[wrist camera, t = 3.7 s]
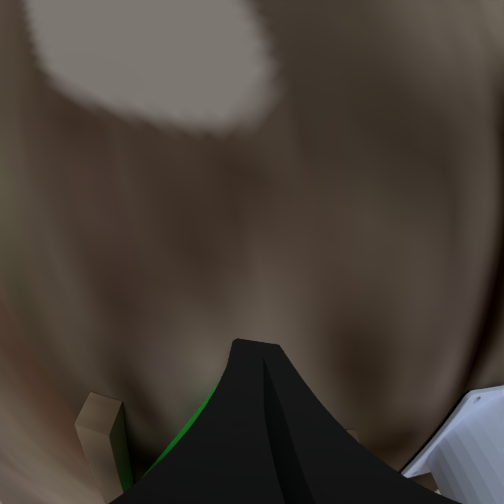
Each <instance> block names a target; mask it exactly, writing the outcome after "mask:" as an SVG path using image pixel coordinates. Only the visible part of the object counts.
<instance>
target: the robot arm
mask: <svg viewBox="0 0 504 504" xmlns="http://www.w3.org/2000/svg"><path fill="white" fill-rule="evenodd" d="M429 472H431V473H432V476H433V478H434V480H435V482H436V484H437V486H438V488H439V491H440V493H441V495H440V494H437V493H435V492H433V491H431V490H429V489H427V488H425V487H423V486H421V485H419V484H417V483H416V482H414V481H412V480H410V479H408V478H409V477H413V476H417V475H421V474H425V473H429ZM109 504H504V385H503V386H497V387H491V388H485V389H478V390H472V391H470V392H468V393H467V394H466V395H465V396H464V398H463V399H462V400H461V402H460V403H459V405H458V406H457V407H456V409H455V410H454V412H453V413H452V414H451V416H450V417H449V418H448V419H447V421H446V422H445V423H444V425H443V426H442V427H441V428H440V430H439V431H438V432H437V433H436V435H435V436H434V437H433V438H432V439H431V440H430V442H429V443H428V444H427V445H426V446H425V447H424V449H423V450H422V451H421V452H420V453H419V454H418V455H417V456H416V457H415V459H414V460H413V461H412V462H411V463H410V464H409V465H408V466H407V467H406V468H405V469H404V470H403V471H402V472H401V474H400V473H399V472H397V471H396V470H394V469H393V468H391V467H390V466H388V465H387V464H386V463H384V462H383V461H382V460H380V459H379V458H377V457H376V456H375V455H373V454H372V453H371V452H370V451H368V450H367V449H366V448H365V447H364V446H362V445H361V444H360V443H359V442H358V441H357V440H356V439H355V438H354V437H353V436H352V435H350V434H349V433H348V432H347V431H346V430H345V429H344V428H343V427H342V426H341V425H340V424H339V423H338V422H337V421H336V420H335V419H334V417H333V416H332V415H331V414H330V413H329V412H328V411H327V409H326V408H325V407H324V406H323V405H322V404H321V403H320V401H319V400H318V399H317V398H316V396H315V395H314V394H313V392H312V391H311V390H310V388H309V387H308V386H307V385H306V383H305V382H304V380H303V379H302V378H301V376H300V375H299V373H298V372H297V370H296V369H295V368H294V366H293V365H292V363H291V362H290V360H289V359H288V357H287V356H286V354H285V353H284V351H283V350H282V348H281V347H280V345H277V344H270V343H264V342H257V341H251V340H244V339H238V338H237V339H235V340H234V341H233V342H232V346H231V351H230V355H229V359H228V363H227V367H226V369H225V371H224V373H223V376H222V378H221V380H220V382H219V384H218V386H217V387H216V389H215V391H214V392H213V394H212V396H211V397H210V399H209V401H208V402H207V404H206V406H205V407H204V409H203V410H202V411H201V413H200V414H199V416H198V417H197V419H196V420H195V421H194V423H193V424H192V425H191V426H190V428H189V429H188V430H187V432H186V433H185V434H184V435H183V436H182V437H181V439H180V440H179V441H178V442H177V443H176V444H175V446H174V447H173V448H172V449H171V450H170V451H169V452H168V453H167V454H166V455H165V456H164V457H163V458H162V459H161V460H160V461H159V462H158V463H157V464H156V465H155V466H154V467H153V468H152V469H151V470H150V471H149V472H147V473H146V474H145V475H144V476H143V477H142V478H141V479H140V480H139V481H137V482H136V483H135V484H134V485H133V486H132V487H130V488H129V489H128V490H127V491H125V492H124V493H123V494H121V495H120V496H119V497H117V498H116V499H114V500H113V501H112V502H110V503H109Z"/></svg>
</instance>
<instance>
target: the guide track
mask: <svg viewBox="0 0 504 504" xmlns="http://www.w3.org/2000/svg"><path fill="white" fill-rule="evenodd" d="M75 427H76V430H77V434H78V437H79V440H80V442H81V445H82V448H83V451H84V454H85V456H86V459H87V462H88V464H89V467H90V469H91V472H92V474H93V477H94V479H95V481H96V484H97V486H98V488H99V490H100V493H101V495H102V497H103V499H104V501H105V503H106V504H109V503H110V502H112V501H113V500H114V499H116V498H117V497H119V496H120V495H121V494H123V493H124V492H125V491H127V490H128V489H129V488H130V487H132V486H133V485H134V481H133V476H132V470H131V465H130V459H129V452H128V446H127V439H126V431H125V423H124V414H123V404H122V401H119V400H115V399H112V398H109V397H105V396H102V395H99V394H96V393H93V392H90V394H89V396H88V398H87V400H86V402H85V404H84V406H83V408H82V410H81V412H80V414H79V416H78V418H77V420H76V422H75ZM346 431H347V432H348V433H349V434H350V435H352V436H353V437H354V438H355V439H356V440H357V441H358V442H359V439H358V436H357V434H356V431H355V429H354V430H346ZM359 443H360V442H359Z"/></svg>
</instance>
